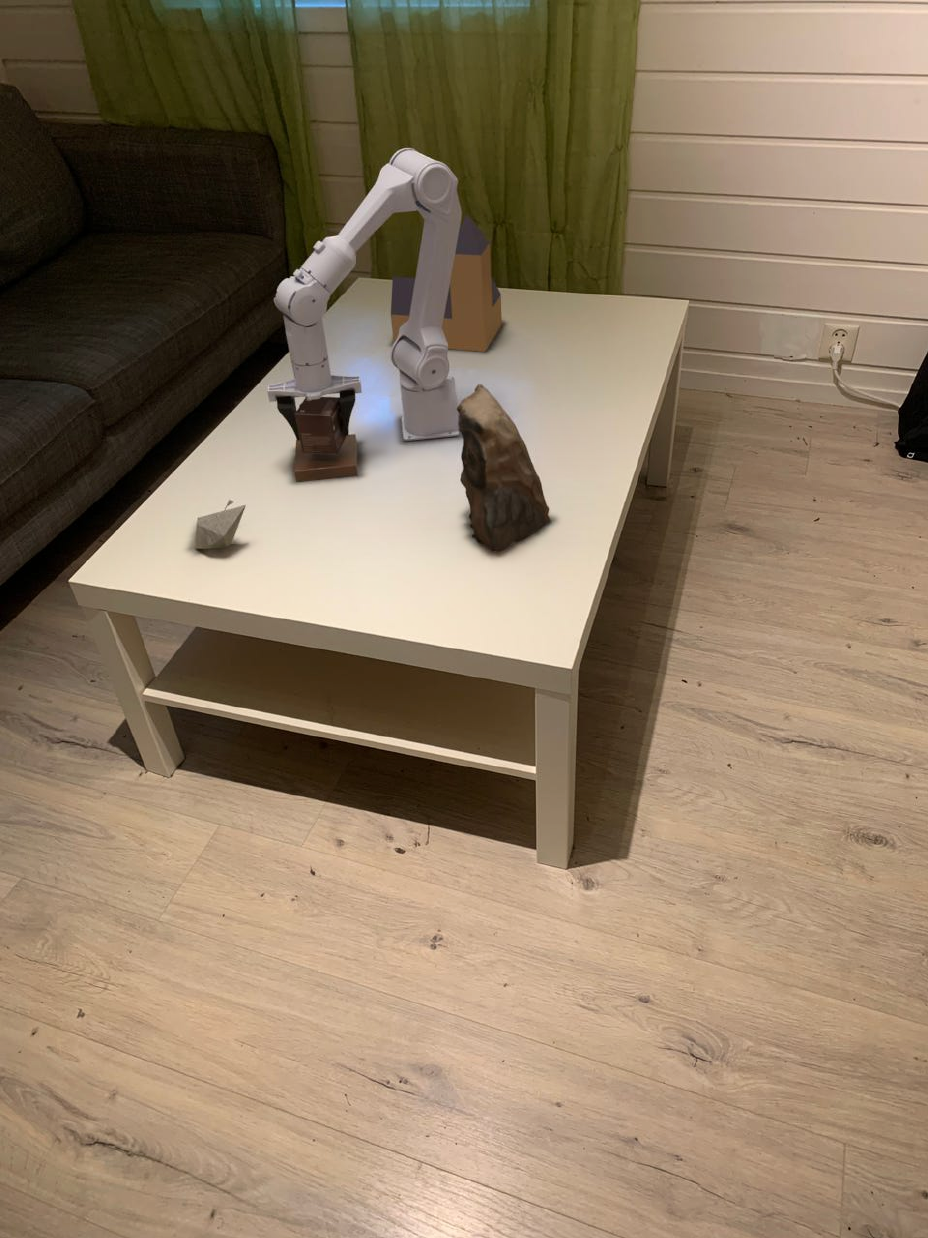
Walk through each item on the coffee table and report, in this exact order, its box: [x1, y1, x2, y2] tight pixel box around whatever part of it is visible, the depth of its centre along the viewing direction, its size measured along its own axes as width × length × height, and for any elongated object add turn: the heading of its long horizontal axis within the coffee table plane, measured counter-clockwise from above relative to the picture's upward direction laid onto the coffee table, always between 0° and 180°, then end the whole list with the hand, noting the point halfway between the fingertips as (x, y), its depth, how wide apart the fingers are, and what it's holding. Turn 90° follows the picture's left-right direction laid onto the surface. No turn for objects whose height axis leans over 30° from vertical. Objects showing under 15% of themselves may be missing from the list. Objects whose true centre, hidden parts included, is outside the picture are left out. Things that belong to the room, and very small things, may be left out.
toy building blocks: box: [390, 213, 503, 353], centre depth 192 cm, size 12×19×25 cm, turn 74°
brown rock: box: [457, 383, 551, 553], centre depth 144 cm, size 13×13×20 cm
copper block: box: [293, 433, 359, 483], centre depth 166 cm, size 10×10×2 cm
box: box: [295, 396, 347, 455], centre depth 162 cm, size 6×6×7 cm
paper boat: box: [194, 499, 247, 550], centre depth 149 cm, size 12×6×9 cm
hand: (322, 434), depth 163 cm, fingers closed on box, 7 cm apart
